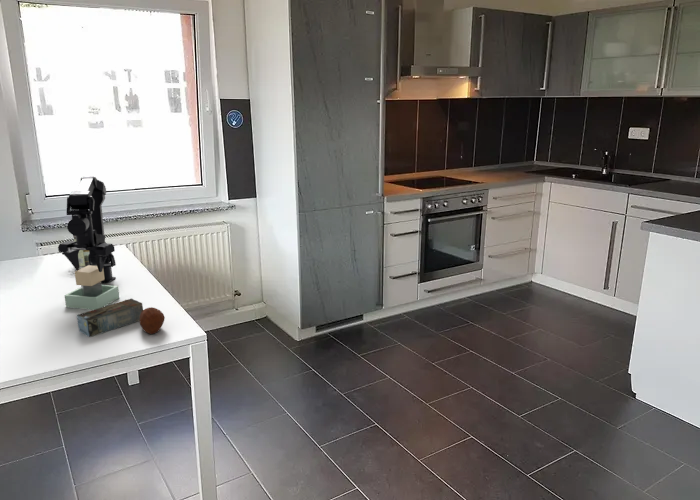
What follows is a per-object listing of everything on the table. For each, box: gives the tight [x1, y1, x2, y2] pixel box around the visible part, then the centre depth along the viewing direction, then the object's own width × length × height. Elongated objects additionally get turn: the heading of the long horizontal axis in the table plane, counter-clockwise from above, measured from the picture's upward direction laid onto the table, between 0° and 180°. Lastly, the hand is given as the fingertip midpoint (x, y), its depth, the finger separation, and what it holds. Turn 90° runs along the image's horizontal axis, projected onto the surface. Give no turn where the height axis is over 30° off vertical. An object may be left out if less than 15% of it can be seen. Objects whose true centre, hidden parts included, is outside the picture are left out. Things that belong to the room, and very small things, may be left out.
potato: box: [139, 306, 166, 335], centre depth 171 cm, size 8×12×8 cm, turn 38°
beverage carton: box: [76, 298, 144, 338], centre depth 175 cm, size 8×19×7 cm, turn 140°
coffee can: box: [72, 235, 90, 269], centre depth 235 cm, size 10×10×14 cm
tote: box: [64, 284, 120, 311], centre depth 194 cm, size 13×13×4 cm
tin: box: [80, 282, 103, 297], centre depth 194 cm, size 6×6×7 cm
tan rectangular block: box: [74, 265, 105, 286], centre depth 192 cm, size 8×6×5 cm
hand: (89, 270), depth 191 cm, fingers open, 9 cm apart
